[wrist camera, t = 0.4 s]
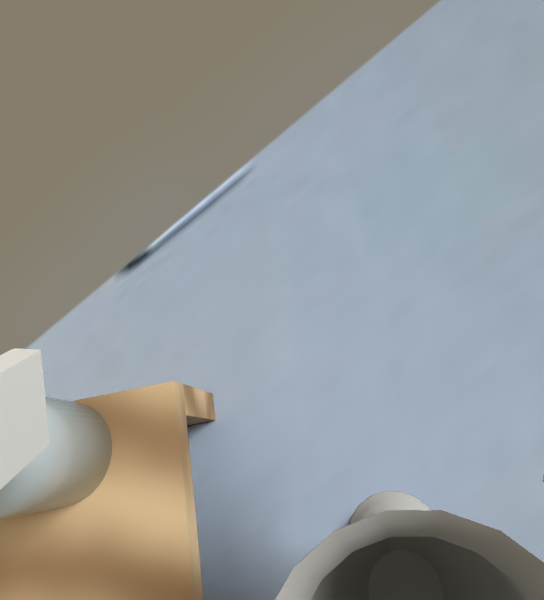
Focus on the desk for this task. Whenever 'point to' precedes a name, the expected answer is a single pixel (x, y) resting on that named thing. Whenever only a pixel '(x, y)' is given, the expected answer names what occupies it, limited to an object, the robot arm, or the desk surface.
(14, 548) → the shelf
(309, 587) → the chalice
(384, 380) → the desk surface
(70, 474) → the white glossy rounded part
